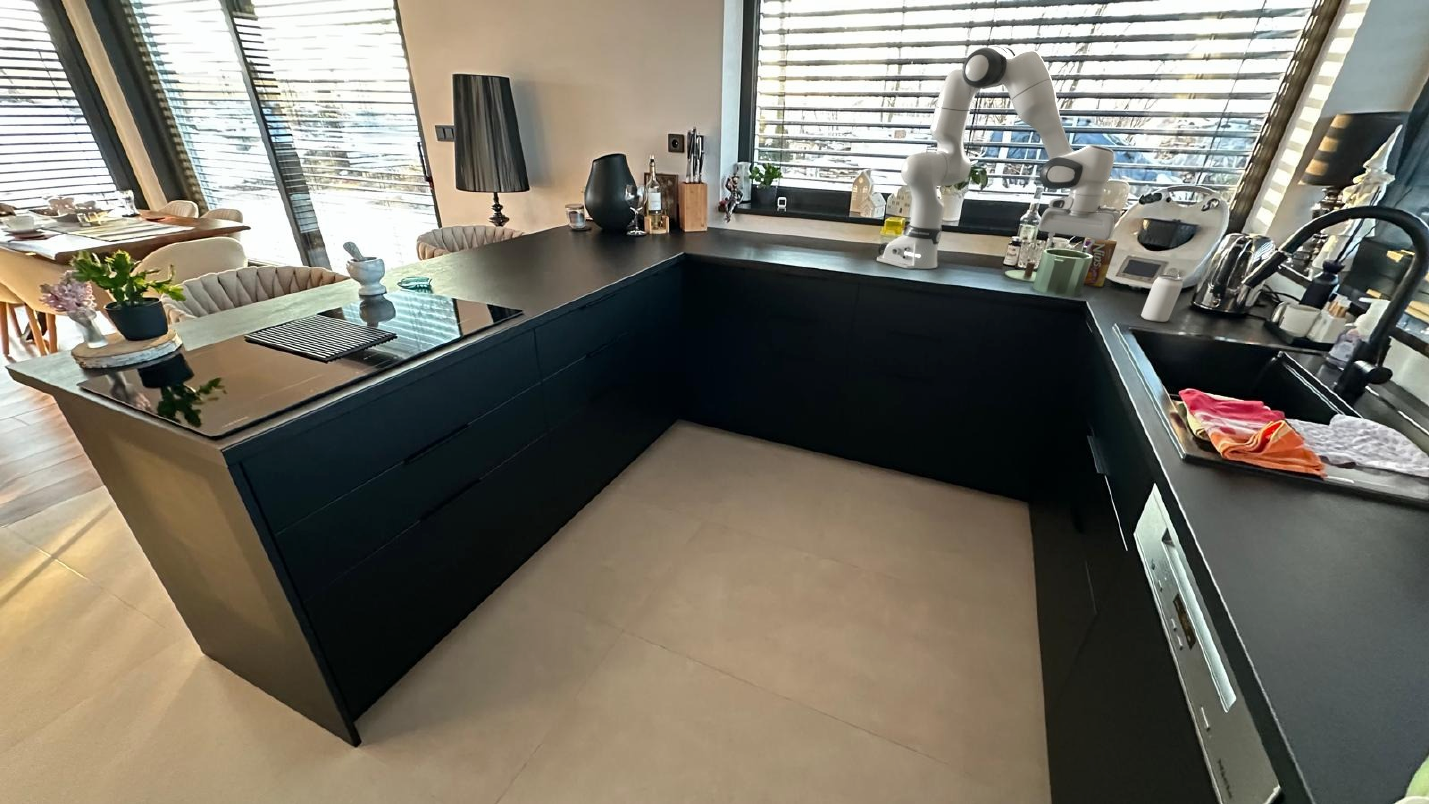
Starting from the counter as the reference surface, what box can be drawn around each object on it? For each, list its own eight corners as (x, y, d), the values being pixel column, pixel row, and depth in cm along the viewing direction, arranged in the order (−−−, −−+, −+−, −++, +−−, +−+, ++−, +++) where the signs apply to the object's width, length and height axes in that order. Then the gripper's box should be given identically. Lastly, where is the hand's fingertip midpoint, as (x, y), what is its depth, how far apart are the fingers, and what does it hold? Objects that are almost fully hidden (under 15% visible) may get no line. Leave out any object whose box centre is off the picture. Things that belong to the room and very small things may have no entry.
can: (1157, 315, 162) (1173, 274, 156) (1173, 322, 156) (1191, 280, 151) (1135, 314, 162) (1151, 274, 156) (1150, 322, 156) (1167, 280, 150)
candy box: (1100, 285, 190) (1116, 239, 183) (1102, 288, 187) (1118, 242, 180) (1070, 281, 194) (1085, 236, 187) (1072, 284, 190) (1086, 239, 183)
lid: (998, 278, 195) (1002, 262, 193) (1012, 271, 205) (1016, 255, 202) (1043, 286, 187) (1048, 270, 184) (1055, 279, 196) (1060, 262, 194)
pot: (1024, 293, 179) (1035, 254, 174) (1041, 282, 192) (1052, 245, 186) (1071, 302, 171) (1084, 262, 165) (1086, 290, 184) (1099, 252, 178)
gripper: (1124, 207, 165) (1107, 254, 172) (1049, 198, 177) (1036, 242, 184) (1120, 209, 161) (1103, 257, 167) (1044, 200, 173) (1030, 245, 179)
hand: (1067, 249), depth 176 cm, fingers open, 8 cm apart
